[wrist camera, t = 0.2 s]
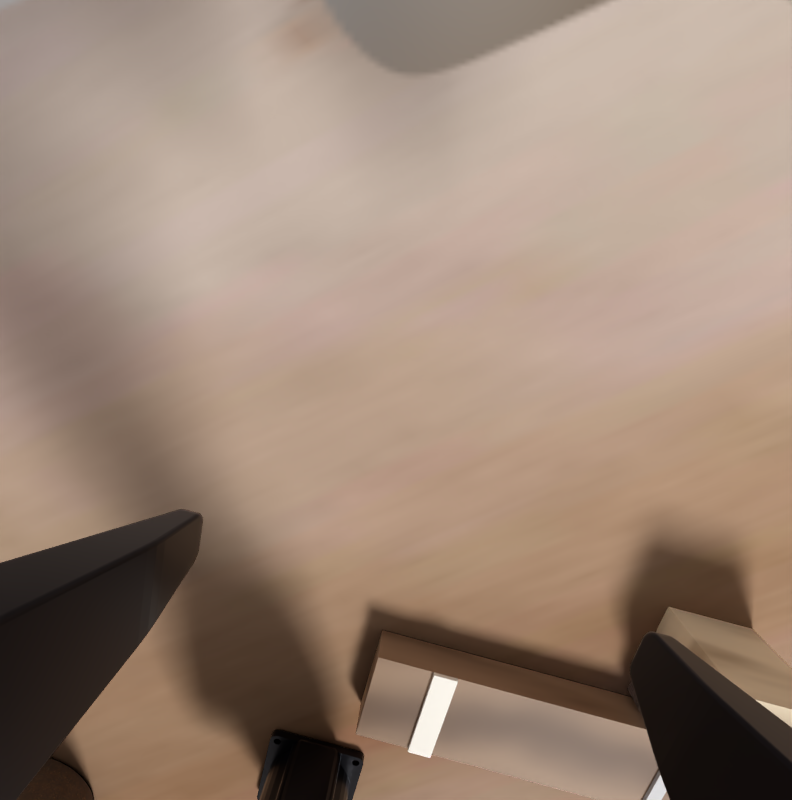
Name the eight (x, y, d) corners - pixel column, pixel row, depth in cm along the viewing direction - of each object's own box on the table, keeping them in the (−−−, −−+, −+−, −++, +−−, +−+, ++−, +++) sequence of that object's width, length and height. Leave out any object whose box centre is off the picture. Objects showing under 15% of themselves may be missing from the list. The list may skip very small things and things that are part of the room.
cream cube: (706, 709, 25) (782, 819, 20) (627, 688, 25) (681, 792, 20) (752, 628, 24) (847, 724, 18) (668, 606, 24) (738, 695, 18)
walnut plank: (776, 815, 27) (807, 860, 24) (360, 703, 27) (355, 737, 25) (823, 748, 25) (859, 790, 23) (382, 630, 25) (378, 660, 23)
